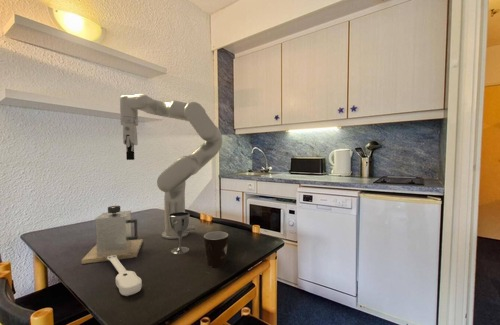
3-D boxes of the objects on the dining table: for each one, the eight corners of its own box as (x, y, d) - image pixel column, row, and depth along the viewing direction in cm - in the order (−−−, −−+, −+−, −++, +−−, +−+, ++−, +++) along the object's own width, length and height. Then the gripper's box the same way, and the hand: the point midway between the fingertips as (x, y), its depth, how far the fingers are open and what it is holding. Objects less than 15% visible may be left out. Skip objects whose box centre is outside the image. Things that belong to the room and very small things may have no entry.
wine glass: (169, 255, 90) (168, 217, 90) (170, 247, 98) (169, 212, 97) (190, 253, 92) (189, 215, 92) (190, 245, 100) (189, 210, 100)
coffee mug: (217, 255, 89) (216, 229, 89) (233, 262, 84) (233, 234, 84) (192, 267, 80) (191, 238, 80) (208, 275, 75) (208, 244, 75)
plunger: (128, 242, 99) (127, 204, 99) (124, 249, 92) (123, 208, 91) (106, 244, 97) (105, 205, 97) (100, 252, 89) (99, 209, 89)
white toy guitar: (101, 265, 83) (101, 257, 83) (119, 260, 87) (119, 253, 86) (123, 301, 62) (122, 290, 62) (145, 292, 66) (145, 282, 66)
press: (142, 242, 105) (141, 208, 104) (136, 257, 89) (135, 217, 89) (96, 247, 99) (95, 211, 99) (81, 264, 84) (80, 221, 84)
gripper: (135, 119, 107) (136, 159, 107) (140, 124, 121) (141, 159, 122) (116, 119, 105) (118, 160, 105) (124, 123, 119) (125, 159, 119)
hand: (130, 159), depth 113 cm, fingers closed
